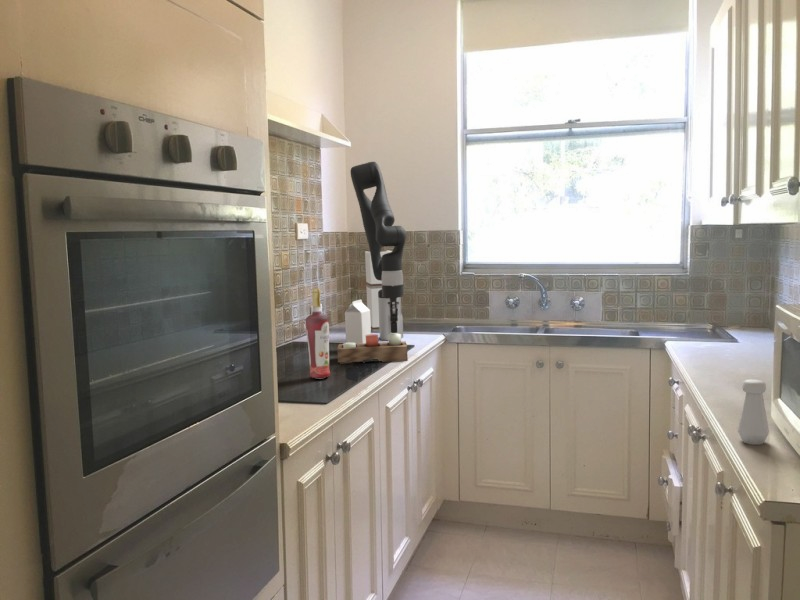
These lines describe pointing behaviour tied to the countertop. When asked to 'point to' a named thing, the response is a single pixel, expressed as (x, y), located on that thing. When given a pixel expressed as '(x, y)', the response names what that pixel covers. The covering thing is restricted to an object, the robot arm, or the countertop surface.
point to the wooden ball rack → (373, 352)
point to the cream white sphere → (394, 339)
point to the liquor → (318, 339)
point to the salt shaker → (753, 414)
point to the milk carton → (357, 322)
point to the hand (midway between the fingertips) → (394, 332)
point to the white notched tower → (373, 291)
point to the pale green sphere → (349, 345)
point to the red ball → (372, 340)
